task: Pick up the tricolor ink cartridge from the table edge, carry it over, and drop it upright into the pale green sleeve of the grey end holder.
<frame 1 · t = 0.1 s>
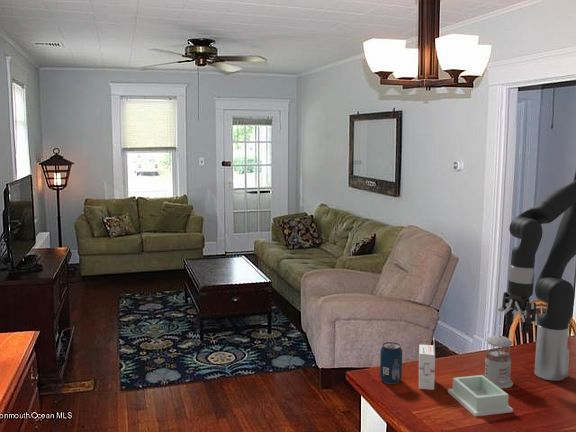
hand: (516, 328, 188), 17 cm above the table, tool pointing down, fingers open, 8 cm apart
ink cartridge box: (425, 384, 187), on the table
french press: (498, 381, 189), on the table
soda can: (390, 381, 189), on the table
end holder: (479, 401, 174), on the table
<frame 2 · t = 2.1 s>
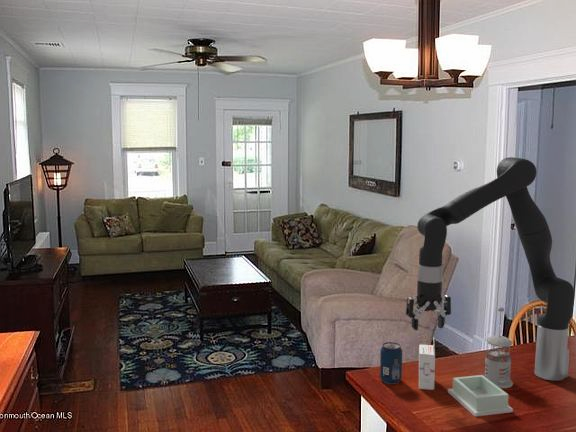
hand: (427, 328, 184), 18 cm above the table, tool pointing down, fingers open, 8 cm apart
nothing on the table moved.
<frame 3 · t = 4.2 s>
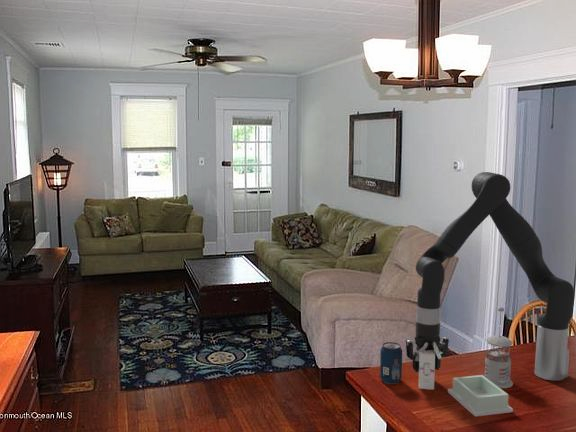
hand: (426, 370, 186), 5 cm above the table, tool pointing down, fingers closed on ink cartridge box, 6 cm apart
ink cartridge box: (425, 384, 187), on the table, touching gripper
everything else where it was.
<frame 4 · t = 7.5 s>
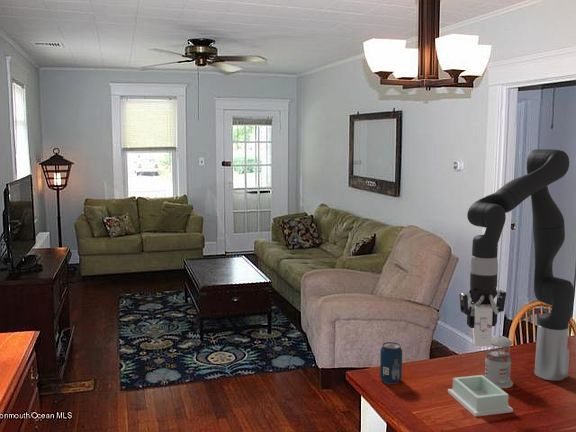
hand: (481, 326, 171), 23 cm above the table, tool pointing down, fingers closed on ink cartridge box, 6 cm apart
ink cartridge box: (480, 342, 172), point 18 cm above the table, touching gripper
everything else where it was.
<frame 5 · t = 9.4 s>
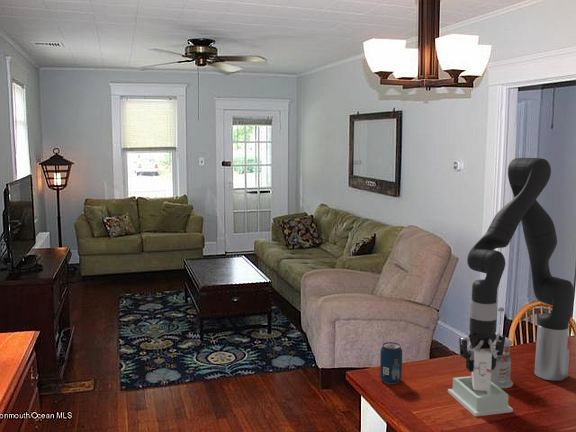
hand: (480, 369, 173), 10 cm above the table, tool pointing down, fingers closed on ink cartridge box, 6 cm apart
ink cartridge box: (479, 385, 174), point 5 cm above the table, touching gripper
everything else where it was.
when the fingers open (7 cm above the table, at t = 10.9 s): ink cartridge box drops 1 cm, resting on end holder.
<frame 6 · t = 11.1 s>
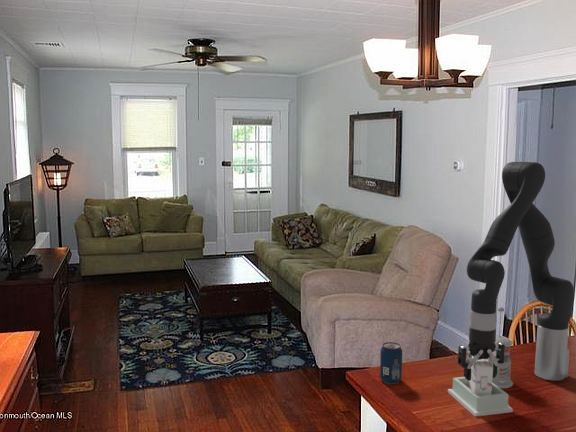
hand: (480, 378, 173), 7 cm above the table, tool pointing down, fingers open, 7 cm apart
ink cartridge box: (478, 398, 174), point 1 cm above the table, touching end holder
everything else where it was.
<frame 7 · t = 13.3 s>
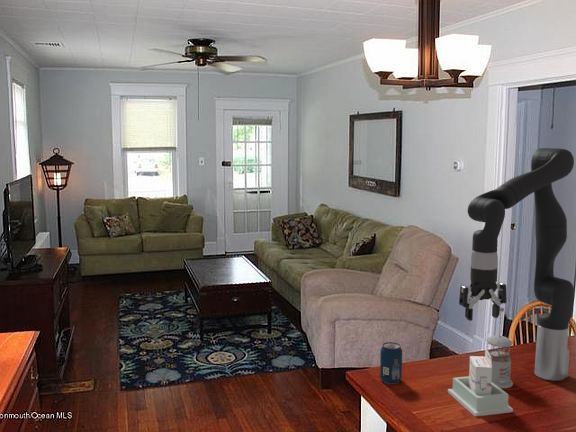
hand: (482, 318, 174), 25 cm above the table, tool pointing down, fingers open, 8 cm apart
nothing on the table moved.
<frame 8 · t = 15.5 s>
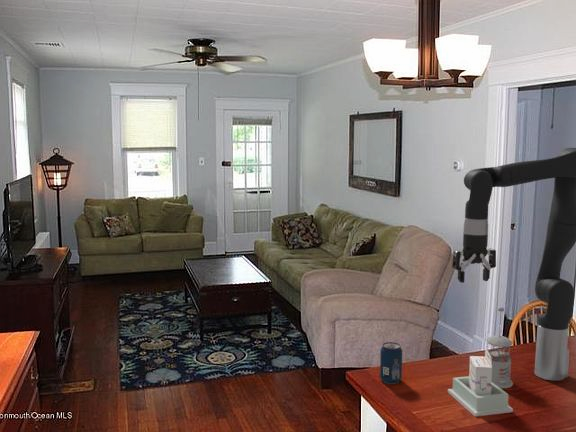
hand: (473, 281, 189), 32 cm above the table, tool pointing down, fingers open, 8 cm apart
nothing on the table moved.
at the end: ink cartridge box 0.1 cm off-centre on the end holder, point 0.8 cm above the end holder's base; ink cartridge box tilted 0°; the gripper is holding nothing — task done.
